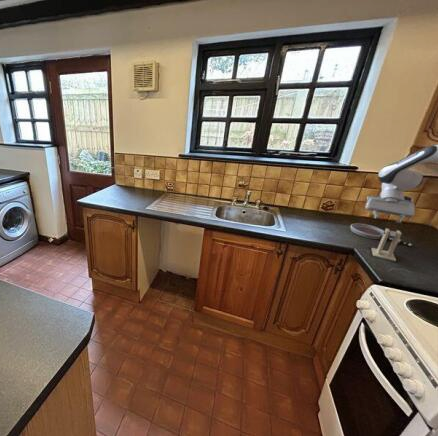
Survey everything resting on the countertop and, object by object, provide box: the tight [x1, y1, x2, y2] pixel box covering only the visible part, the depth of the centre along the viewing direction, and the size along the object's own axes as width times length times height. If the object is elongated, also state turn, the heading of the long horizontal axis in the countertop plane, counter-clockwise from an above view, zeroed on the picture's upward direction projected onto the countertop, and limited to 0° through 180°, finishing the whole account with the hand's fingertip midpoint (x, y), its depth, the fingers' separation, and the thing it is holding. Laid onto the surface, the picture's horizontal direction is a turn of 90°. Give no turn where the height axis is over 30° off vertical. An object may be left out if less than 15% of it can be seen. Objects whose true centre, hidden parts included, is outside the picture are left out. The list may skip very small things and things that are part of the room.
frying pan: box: [350, 223, 413, 247], centre depth 141 cm, size 17×3×28 cm
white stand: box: [371, 227, 402, 262], centre depth 119 cm, size 10×8×14 cm
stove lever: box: [379, 230, 397, 242], centre depth 122 cm, size 14×4×4 cm, turn 144°
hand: (387, 220), depth 133 cm, fingers open, 8 cm apart
